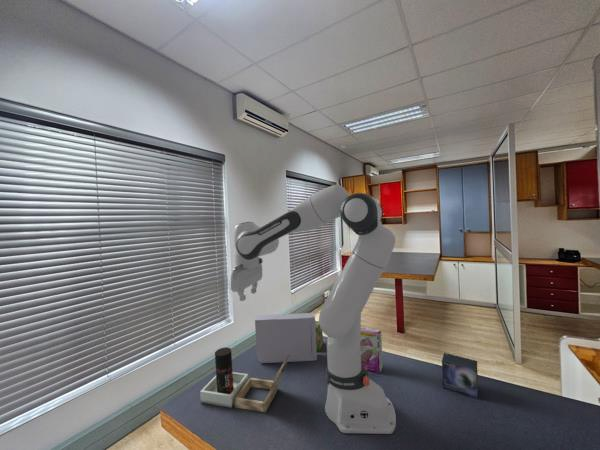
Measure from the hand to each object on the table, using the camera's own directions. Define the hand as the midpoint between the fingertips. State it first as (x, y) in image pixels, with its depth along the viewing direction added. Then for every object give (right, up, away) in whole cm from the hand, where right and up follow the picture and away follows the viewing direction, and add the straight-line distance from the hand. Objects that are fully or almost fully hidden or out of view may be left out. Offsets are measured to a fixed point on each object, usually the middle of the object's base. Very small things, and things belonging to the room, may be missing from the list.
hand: (248, 296), depth 99 cm
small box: (+79, -30, -11) cm, 85 cm away
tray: (-7, -35, -6) cm, 36 cm away
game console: (+15, -33, +14) cm, 39 cm away
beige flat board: (+13, -25, -12) cm, 31 cm away
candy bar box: (+50, -32, +5) cm, 59 cm away
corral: (+5, -34, -10) cm, 36 cm away
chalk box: (+27, -33, +25) cm, 49 cm away
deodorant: (-7, -34, -6) cm, 35 cm away
